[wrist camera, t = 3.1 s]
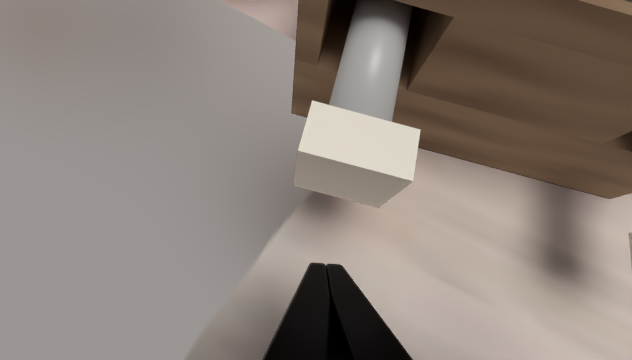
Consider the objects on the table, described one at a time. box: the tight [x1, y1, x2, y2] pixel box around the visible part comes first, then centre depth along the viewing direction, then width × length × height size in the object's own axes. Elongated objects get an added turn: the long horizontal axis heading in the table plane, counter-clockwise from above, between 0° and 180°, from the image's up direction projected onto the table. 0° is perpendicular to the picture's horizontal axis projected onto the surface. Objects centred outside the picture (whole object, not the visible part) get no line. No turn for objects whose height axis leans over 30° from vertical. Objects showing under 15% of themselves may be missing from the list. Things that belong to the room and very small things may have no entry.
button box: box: [292, 0, 632, 199], centre depth 15 cm, size 8×19×10 cm, turn 76°
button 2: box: [293, 0, 421, 208], centre depth 12 cm, size 10×3×3 cm, turn 166°
